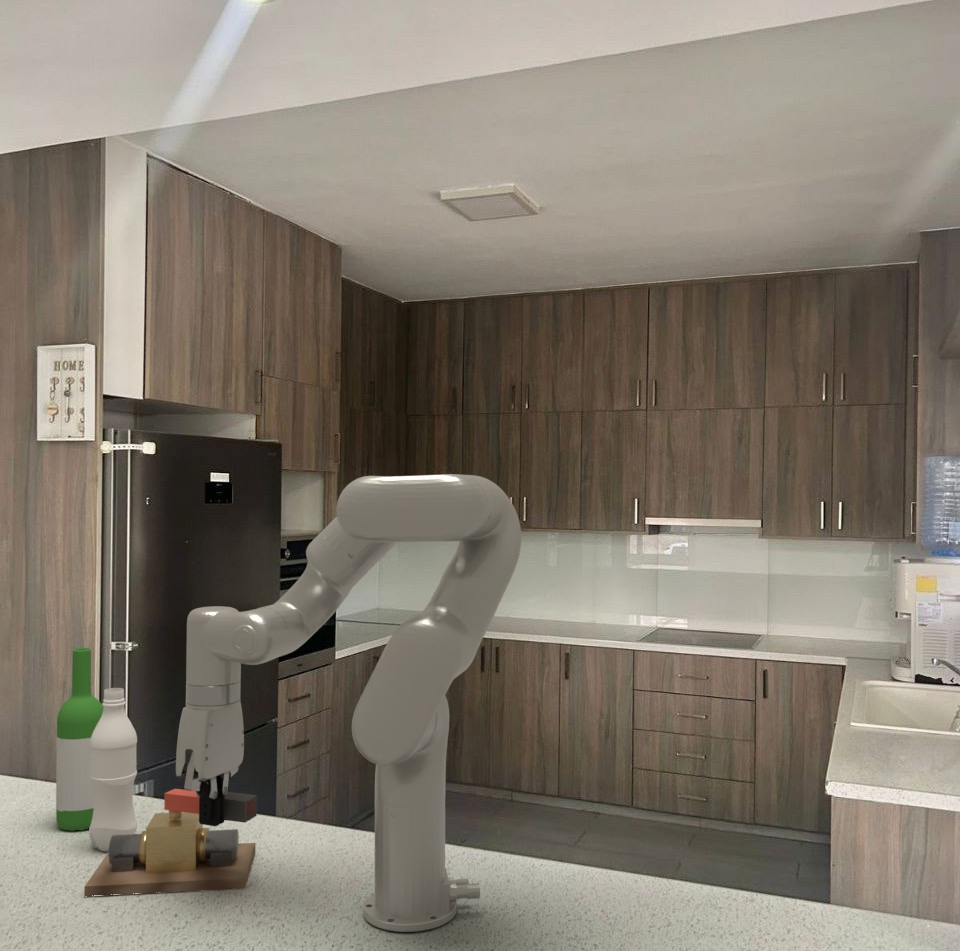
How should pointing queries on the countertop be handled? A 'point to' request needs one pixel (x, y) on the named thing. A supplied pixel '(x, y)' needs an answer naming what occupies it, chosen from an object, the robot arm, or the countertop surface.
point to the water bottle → (112, 772)
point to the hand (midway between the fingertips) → (211, 823)
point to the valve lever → (188, 801)
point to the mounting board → (172, 877)
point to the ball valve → (173, 846)
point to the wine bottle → (76, 748)
